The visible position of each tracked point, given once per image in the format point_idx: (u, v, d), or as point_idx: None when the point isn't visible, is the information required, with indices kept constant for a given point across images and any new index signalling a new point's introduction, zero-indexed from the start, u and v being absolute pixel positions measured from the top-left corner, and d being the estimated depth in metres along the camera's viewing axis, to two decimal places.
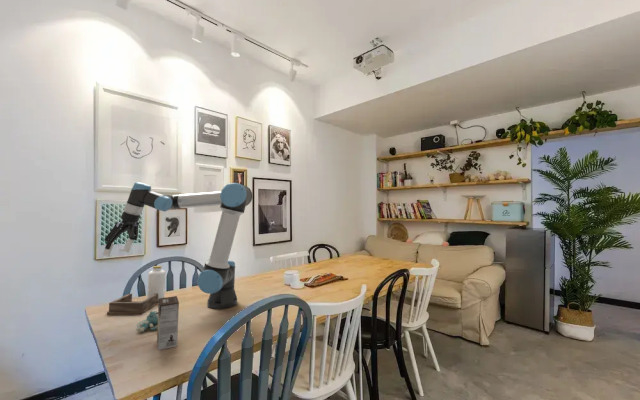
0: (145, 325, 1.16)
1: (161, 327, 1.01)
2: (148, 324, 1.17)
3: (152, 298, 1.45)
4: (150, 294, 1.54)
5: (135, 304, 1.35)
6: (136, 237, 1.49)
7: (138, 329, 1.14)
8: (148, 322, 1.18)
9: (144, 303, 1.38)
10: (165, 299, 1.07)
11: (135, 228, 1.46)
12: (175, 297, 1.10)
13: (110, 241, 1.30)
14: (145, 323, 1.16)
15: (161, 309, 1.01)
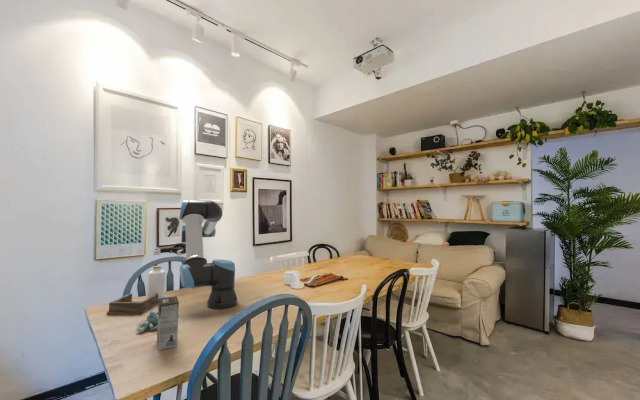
0: (145, 325, 1.16)
1: (161, 327, 1.01)
2: (148, 324, 1.17)
3: (152, 298, 1.45)
4: (150, 294, 1.54)
5: (135, 304, 1.35)
6: None
7: (138, 329, 1.14)
8: (148, 322, 1.18)
9: (144, 303, 1.38)
10: (165, 299, 1.07)
11: None
12: (175, 297, 1.10)
13: None
14: (145, 323, 1.16)
15: (161, 309, 1.01)
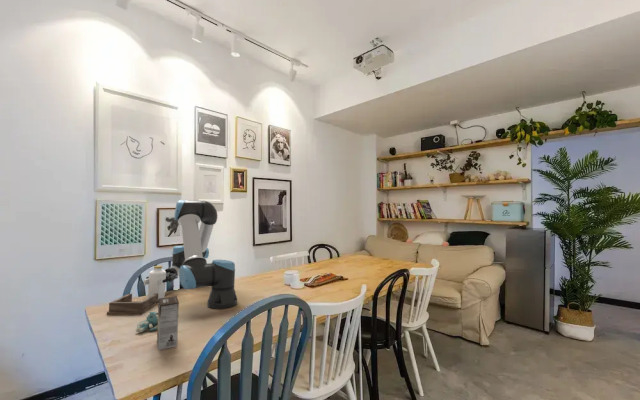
0: (144, 325, 1.16)
1: (161, 327, 1.01)
2: (147, 324, 1.17)
3: (152, 298, 1.45)
4: (150, 294, 1.54)
5: (135, 304, 1.35)
6: (169, 277, 1.61)
7: (137, 329, 1.14)
8: (148, 322, 1.17)
9: (144, 303, 1.38)
10: (165, 299, 1.07)
11: None
12: (175, 297, 1.10)
13: None
14: (144, 323, 1.16)
15: (161, 309, 1.01)
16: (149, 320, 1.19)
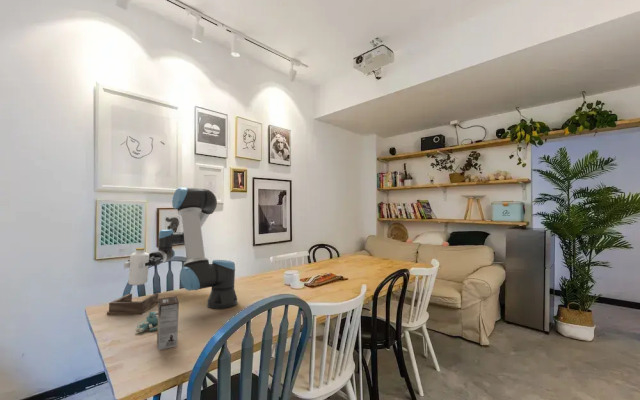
0: (144, 326, 1.15)
1: (161, 327, 1.01)
2: (147, 325, 1.17)
3: (152, 298, 1.45)
4: (131, 278, 1.41)
5: (135, 304, 1.35)
6: (153, 260, 1.48)
7: (137, 330, 1.14)
8: (147, 323, 1.17)
9: (144, 303, 1.38)
10: (165, 299, 1.07)
11: None
12: (175, 297, 1.10)
13: (129, 260, 1.47)
14: (144, 324, 1.16)
15: (161, 309, 1.01)
16: (149, 320, 1.19)
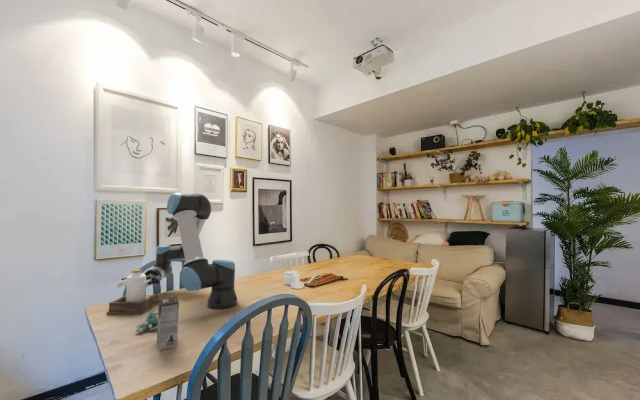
0: (144, 326, 1.15)
1: (161, 327, 1.01)
2: (147, 325, 1.17)
3: (152, 298, 1.45)
4: (129, 301, 1.38)
5: (135, 304, 1.35)
6: (156, 279, 1.47)
7: (137, 330, 1.13)
8: (147, 323, 1.17)
9: (144, 303, 1.38)
10: (165, 299, 1.07)
11: (157, 277, 1.52)
12: (175, 297, 1.10)
13: (122, 278, 1.46)
14: (144, 324, 1.16)
15: (161, 309, 1.01)
16: (149, 320, 1.19)
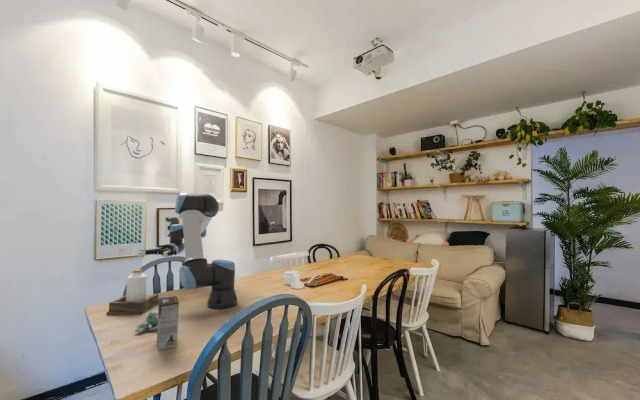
0: (144, 326, 1.15)
1: (161, 327, 1.01)
2: (147, 325, 1.16)
3: (152, 298, 1.45)
4: (129, 301, 1.38)
5: (135, 304, 1.35)
6: (174, 250, 1.65)
7: (137, 330, 1.13)
8: (147, 323, 1.17)
9: (144, 303, 1.38)
10: (165, 299, 1.07)
11: (173, 250, 1.69)
12: (175, 297, 1.10)
13: (141, 250, 1.63)
14: (144, 324, 1.16)
15: (161, 309, 1.01)
16: (148, 320, 1.18)
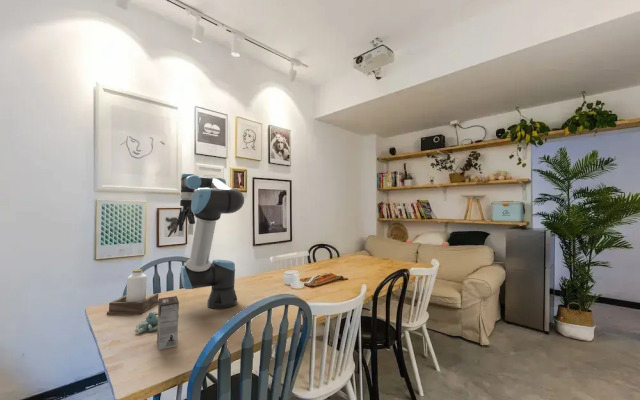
0: (143, 326, 1.15)
1: (161, 327, 1.01)
2: (147, 325, 1.16)
3: (152, 298, 1.45)
4: (129, 301, 1.38)
5: (135, 304, 1.35)
6: (194, 221, 1.77)
7: (136, 330, 1.13)
8: (147, 323, 1.17)
9: (144, 303, 1.38)
10: (165, 299, 1.07)
11: (192, 213, 1.74)
12: (175, 297, 1.10)
13: (182, 223, 1.58)
14: (144, 324, 1.15)
15: (161, 309, 1.01)
16: (148, 321, 1.18)
